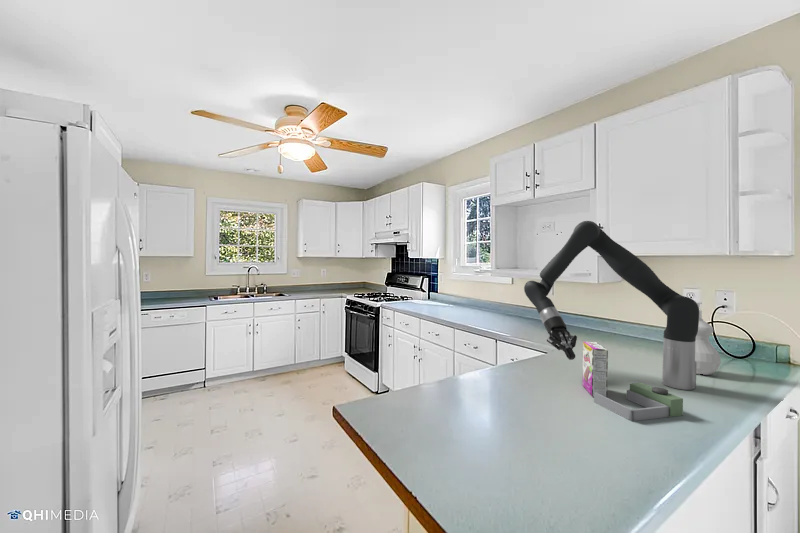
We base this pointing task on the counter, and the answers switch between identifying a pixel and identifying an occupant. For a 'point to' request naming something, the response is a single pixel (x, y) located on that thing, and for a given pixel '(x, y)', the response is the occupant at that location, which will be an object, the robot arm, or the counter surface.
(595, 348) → the candy bar box
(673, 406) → the frame with green block
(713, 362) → the soap bottle
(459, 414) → the counter surface
